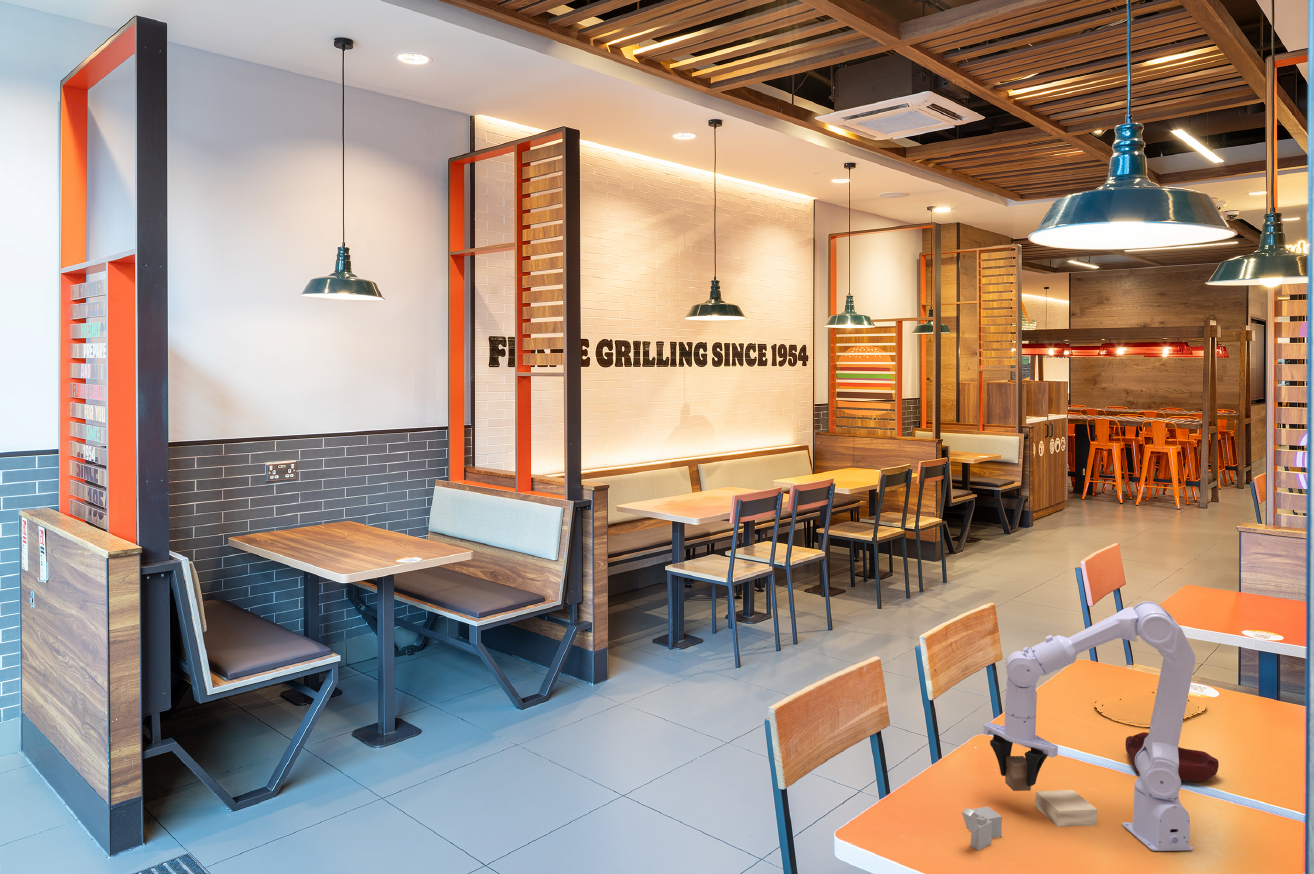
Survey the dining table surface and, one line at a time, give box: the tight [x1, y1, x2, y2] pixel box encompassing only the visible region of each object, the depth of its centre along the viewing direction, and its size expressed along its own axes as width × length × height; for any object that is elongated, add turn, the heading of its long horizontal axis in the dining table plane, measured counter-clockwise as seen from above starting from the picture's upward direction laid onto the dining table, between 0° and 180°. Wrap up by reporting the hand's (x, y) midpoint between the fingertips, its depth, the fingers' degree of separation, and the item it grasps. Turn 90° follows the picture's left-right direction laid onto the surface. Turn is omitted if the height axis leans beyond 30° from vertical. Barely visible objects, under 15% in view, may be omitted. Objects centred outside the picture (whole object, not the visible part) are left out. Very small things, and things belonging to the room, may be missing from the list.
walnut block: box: [1004, 755, 1032, 792], centre depth 169 cm, size 4×4×6 cm
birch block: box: [1034, 789, 1098, 828], centre depth 168 cm, size 8×8×4 cm
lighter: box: [961, 806, 992, 851], centre depth 156 cm, size 7×2×8 cm, turn 125°
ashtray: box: [1124, 731, 1220, 782], centre depth 188 cm, size 18×16×5 cm
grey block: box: [970, 806, 1003, 840], centre depth 161 cm, size 4×4×4 cm
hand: (1018, 779), depth 169 cm, fingers closed on walnut block, 5 cm apart
